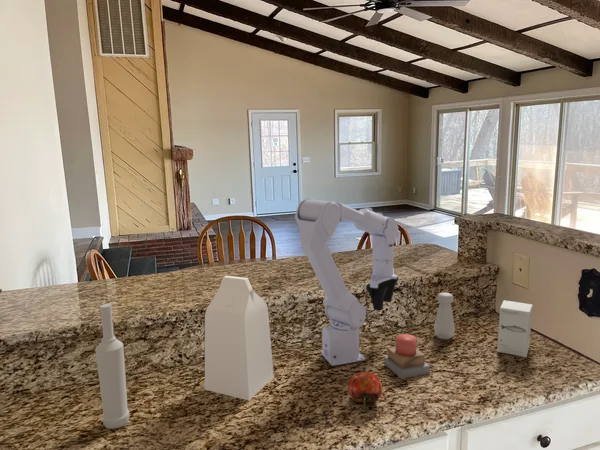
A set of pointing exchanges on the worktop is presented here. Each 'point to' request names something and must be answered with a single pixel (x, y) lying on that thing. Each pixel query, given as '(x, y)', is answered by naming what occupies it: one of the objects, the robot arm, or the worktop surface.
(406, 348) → the red rounded block
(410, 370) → the tower base block
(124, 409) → the bottle
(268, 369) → the milk
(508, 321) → the supplement box
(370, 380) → the red apple
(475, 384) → the worktop surface
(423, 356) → the tower top block
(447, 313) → the salt shaker
